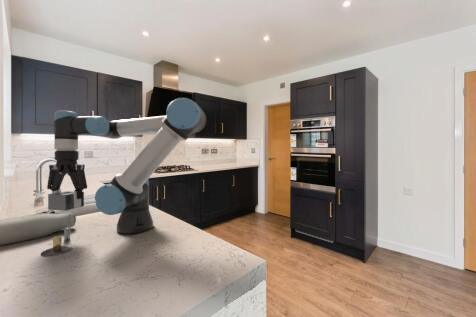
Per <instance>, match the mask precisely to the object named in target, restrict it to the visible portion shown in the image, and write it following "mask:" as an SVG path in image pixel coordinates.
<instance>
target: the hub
mask: <svg viewBox="0 0 476 317" xmlns="http://www.w3.org/2000/svg"><path fill="white" fill-rule="evenodd" d="M62 241H63V240H62V235H54V236H52V243H53V245H52V247H51V248H47V249H45V250H43V251H42V252H41V253H40V256H41V257H44V258H46V257H48V258H50V257H56V256H60V255H63V254H65V253H68V252H70V251H72V250H73V249H74V248H73V247H70V246H66V245H62V244H63V243H62Z"/></svg>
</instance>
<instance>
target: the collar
mask: <svg viewBox="0 0 476 317" xmlns="http://www.w3.org/2000/svg"><path fill="white" fill-rule="evenodd" d="M47 203H48V204H47V206H48V208H47V209H48V211H61V212H62V211H65V212H67V211H69V210H75V209H78V208H81V207H83V208H84V207H85V204H84V203H85V191H82V198H81V207H77V208H74V190H65V191H61V192H58V193H48V195H47Z"/></svg>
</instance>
